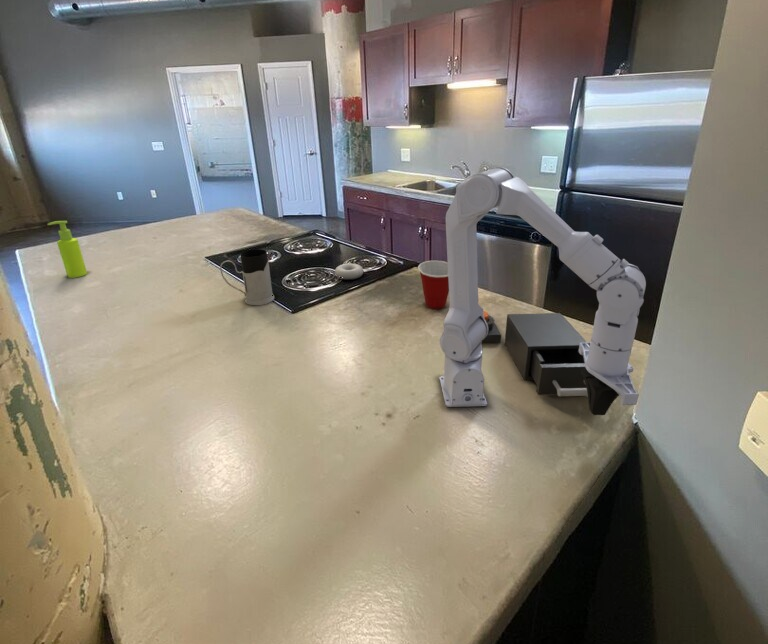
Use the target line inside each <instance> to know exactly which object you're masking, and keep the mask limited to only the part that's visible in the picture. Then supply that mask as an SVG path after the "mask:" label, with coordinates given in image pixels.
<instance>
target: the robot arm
mask: <svg viewBox="0 0 768 644" xmlns="http://www.w3.org/2000/svg"><path fill="white" fill-rule="evenodd" d="M495 208H497V209H496V212H495V214H496V215H507V216H518V217H520V218H521V219H522V220H524V221H525V222H526V223H527V224H528V225H530V227H532V228H534V229H535V230H536V231H537V232H538V233H540V234H541V235H542V236H544V237H545V238H546V239H547V240H548V241H549V242H551V243H552V244H553V245H554V246H556V247H557V248H558V249H557V250H558V258H559V260H560V261H561V262H562V263H564V265H565V266H566V267H567V268H568V269H570V270H571V272H573V273H575V274H576V275H577V277H579V278H580V279H581V280H582V281H583V282H584V283H586V284H587V285H588V286H589V288H591V289H593V290H595V291H596V299H597V301H598V308H597V310H596V311H595V316H594V322H593V327H592V333H591V338H590V342H587V343H580V346H579V353H580V354H581V355H583V357H584V363H585V368H586V369H584V370H582V372H581V374H582V376H583V378H584V381H585V384H586V388H587V394H588V396H587V402H588V409H589V412H590V413H591V414H592V416H605V415H606V414H607V412H608V411H609V408H610V407H611V406H612V405H613V403H614V401H615V400H616V399H617V398H618V397H620V398H619V402H620V404H621V405H623V406H637V404H638V400H639V396H640V394H639V392H638V391H637V390H636V388H635V386H634V383H633V380H632V377H631V373H634V366H633V365H631V364H630V358H631V354H632V350H633V345H634V341H635V336H636V331H637V328H638V323H639V318H638V317H639V314H640V309H641V307H642V306H643V304H644V301H645V299H644V295H645V292H646V288H647V287H646V286H647V281H646V277H645V276H644V273H643V272H642V271H641V270H640V268H639V266H637V265H635V264H632V263H629V262H628V261H627V260H626V259H625V258H622V259H620V258H619V257H618V256H617V255H615V254H614V253H613V252H612V251H611V250H610V249H608V247H606V246H605V245H604V244H603V242H604V238H603V237H601V236H600V235H599V234H595V235H592V234H591V233H590V232H589V231H575V230H574V229H573V228H572V227H570V225H569V224H567V222H565V220H564V219H562V218H561V217H560V216H559V215H558V214H557V213H556V212H555V211H554V210H553V209H552V208H551V207H549V205H548V204H547V203H546V202H545V201H544V200H543V199H541V197H540V196H538V195H537V194H536V193H535V192H534V190H532V189H531V188H530V187H529V185H528V184H527V183H526V182H525V181H524V180H523V179H521V178H520V177H519V176H515V175H514V174H513V172H511V171H510V170H509V169H508V168H506V167H503V166H495V167H491V168H489V169H488V170H485V171H482V172H475V173H472V174H470V175H469V176H467V177H466V178H465V179H464V180H463V181H461V183H459V184H457V186H456V188H455V195H454V197H453V199H452V201H451V203H450V205H449V207H448V209H447V210H446V212H445V235H446V236H445V237H446V238H445V239H446V253H447V254H446V255H447V256H446V257H447V259H446V261H447V262H448V280H449V293H448V299H449V308H448V311H447V313H446V316H445V318H444V321H443V324H442V325H443V331H442V333H441V335H440V338H439V345H440V348H441V350H442V352H443V354H444V367H443V368H444V369H443V370H444V371H443V375H440V376H439V382H440V387H441V392H442V395H443V400H444V404H445V406H446V407H447V408H460V407H461V408H464V407H486V406H488V401H487V399H486V395H485V393H484V387H485V376H484V373H483V370H482V364H483V353H484V352H483V346H482V345H483V343H482V340H484V339H485V338H486V336H487V334H488V324H487V322H486V320H485V318H484V314H483V311H484V308H483V307H482V306H481V305H480V303H479V275H478V274H479V273H478V269H479V268H478V241H477V240H478V234H477V232H478V231H477V230H478V229H477V228H478V227H477V224H478V222H480V221H481V220H482V219H483V218H484V217H485V216H486V215H487V214H488V213H490V211H491V210H493V209H495Z"/></svg>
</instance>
